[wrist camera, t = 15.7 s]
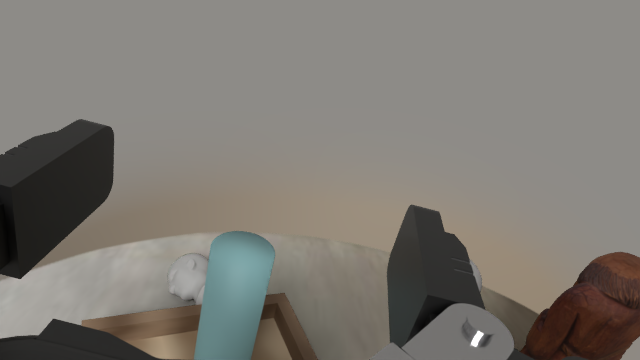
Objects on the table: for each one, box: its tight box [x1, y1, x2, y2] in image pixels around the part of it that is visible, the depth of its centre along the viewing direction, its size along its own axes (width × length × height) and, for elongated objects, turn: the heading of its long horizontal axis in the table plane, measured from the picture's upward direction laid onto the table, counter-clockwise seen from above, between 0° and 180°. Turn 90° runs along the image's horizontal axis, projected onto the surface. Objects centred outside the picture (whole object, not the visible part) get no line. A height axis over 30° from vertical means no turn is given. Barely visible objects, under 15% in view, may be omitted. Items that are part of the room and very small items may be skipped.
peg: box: [194, 231, 275, 360], centre depth 32 cm, size 4×4×19 cm
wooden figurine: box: [520, 252, 640, 360], centre depth 46 cm, size 12×6×18 cm, turn 116°
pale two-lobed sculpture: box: [168, 253, 208, 305], centre depth 49 cm, size 4×8×5 cm
